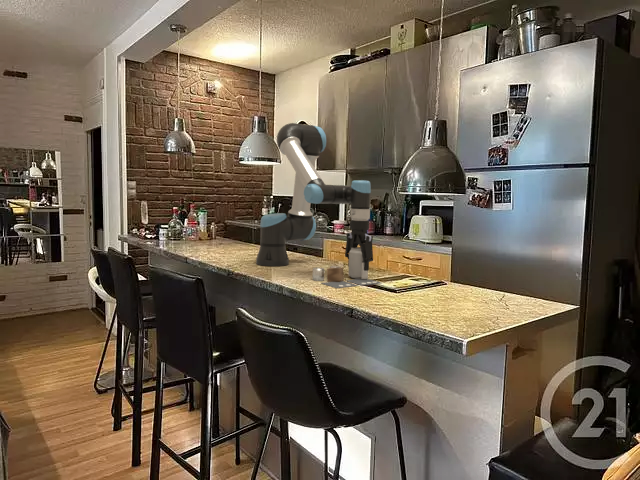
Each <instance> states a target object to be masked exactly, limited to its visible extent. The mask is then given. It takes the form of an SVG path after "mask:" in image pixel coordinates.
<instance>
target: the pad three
mask: <svg viewBox="0 0 640 480" xmlns="http://www.w3.org/2000/svg"><path fill="white" fill-rule="evenodd" d="M344 281H345V282H348V283H352V284H355V285H358V286H361V287H362V286H370V285H380V284H381V285H382V282H379V281H377V280H374V279H373V280H372V279H369V278H368V279H355V278H354V279H347V280H344Z"/></svg>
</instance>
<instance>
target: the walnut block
mask: <svg viewBox="0 0 640 480" xmlns="http://www.w3.org/2000/svg"><path fill="white" fill-rule="evenodd" d="M339 267H340V268H330V267H329V268H328V267H327V268H326V277H327V278H326V281H327V282H340V281H345V280H344V266H343V267H342V266H339Z"/></svg>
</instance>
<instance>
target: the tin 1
mask: <svg viewBox="0 0 640 480" xmlns="http://www.w3.org/2000/svg"><path fill="white" fill-rule="evenodd" d="M312 281H314V282H323V281H324V282H325V268H324V267H312Z"/></svg>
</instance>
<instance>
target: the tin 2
mask: <svg viewBox="0 0 640 480" xmlns="http://www.w3.org/2000/svg"><path fill="white" fill-rule="evenodd" d="M340 267H341V266H338V265H331V266H329V268H340Z"/></svg>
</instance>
